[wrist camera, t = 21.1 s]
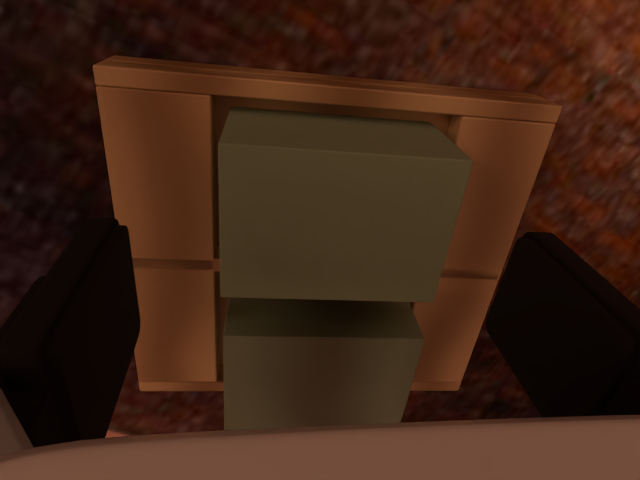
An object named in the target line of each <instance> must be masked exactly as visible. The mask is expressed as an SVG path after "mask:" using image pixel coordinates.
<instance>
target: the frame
mask: <svg viewBox="0 0 640 480" xmlns="http://www.w3.org/2000/svg"><path fill="white" fill-rule="evenodd" d="M93 72H94V79H95V84H96V85H98V86H96V92H97V99H98V106H99V113H100V119H101V126H102V133H103V140H104V147H105V154H106V160H107V167H108V174H109V181H110V188H111V195H112V202H113V208H114V215H115V219H117V220H118V222H119V225H126V226H127V228H128V231H129V238H130V245H131V253H132V260H133V268H134V275H135V283H136V290H137V298H138V305H139V313H140V321H141V323H140V333H139V337H138V340H137V343H136V346H135V349H134V352H135V359H136V366H137V373H138V380H139V387H140V391H224V430H244V429H266V428H289V427H312V426H334V425H357V424H382V423H401V420H402V416H403V413H404V409H405V406H406V402H407V399H408V396H409V392H410V391H457V390H459V387H460V384H461V381H462V378H463V375H464V373H465V370H466V367H467V365H468V362H469V359H470V356H471V354H472V351H473V348H474V345H475V343H476V340H477V337H478V335H479V332H480V329H481V326H482V324H483V321H484V318H485V316H486V313H487V310H488V307H489V305H490V302H491V299H492V297H493V294H494V291H495V288H496V286H497V283H498V280H499V278H500V275H501V273H502V269H503V267H504V264H505V261H506V258H507V256H508V253H509V250H510V248H511V245H512V242H513V239H514V237H515V234H516V231H517V228H518V226H519V223H520V220H521V218H522V215H523V212H524V209H525V207H526V204H527V201H528V199H529V196H530V193H531V190H532V188H533V185H534V182H535V179H536V177H537V174H538V171H539V169H540V166H541V163H542V160H543V158H544V155H545V152H546V150H547V147H548V144H549V141H550V139H551V136H552V133H553V131H554V128H555V124H554V123H556V122H557V120H558V118H559V115H560V112H561V109H562V106H561V105H558V104H556V103H554V102H551V101H549V100H546V99H545V98H542V97H540V96H538V95H535V94H533V93H522V92H512V91H501V90H490V89H479V88H468V87H457V86H446V85H435V84H424V83H413V82H402V81H391V80H380V79H369V78H358V77H347V76H336V75H325V74H314V73H303V72H292V71H281V70H270V69H259V68H248V67H237V66H226V65H215V64H204V63H193V62H182V61H171V60H160V59H149V58H138V57H127V56H116V55H114V56H112V57H109V58H107V59H105V60H103V61H101V62H99V63H97V64H95V65H93ZM232 106H235V107H247V108H260V109H273V110H285V111H298V112H310V113H323V114H336V115H348V116H361V117H373V118H386V119H399V120H411V121H424V122H431V123H432V124H433V125H434V126H435V127H436V128H437V129H438V130H440V131H441V132H442V133H443V134H444V135H445V136H446V137H447V138H448V139H450V140H451V141H452V142H453V143H454V144H455V145H456V146H457V147H458V148H460V149H461V150H462V151H463V152H464V153H465V154H466V155H467V156H468V157H470V158H471V159H472V160H473V165H472V169H471V172H470V176H469V179H468V183H467V186H466V190H465V193H464V197H463V200H462V204H461V207H460V211H459V214H458V218H457V221H456V225H455V228H454V231H453V235H452V238H451V242H450V245H449V249H448V252H447V256H446V259H445V263H444V266H443V270H442V273H441V277H440V280H439V284H438V287H437V291H436V294H435V298H434V301H433V302H392V301H352V300H312V299H271V298H231V297H221V296H220V251H219V183H218V143H219V140H220V137H221V134H222V132H223V129H224V126H225V123H226V120H227V117H228V114H229V111H230V108H231V107H232Z"/></svg>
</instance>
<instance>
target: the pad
mask: <svg viewBox="0 0 640 480" xmlns="http://www.w3.org/2000/svg"><path fill="white" fill-rule="evenodd" d="M472 165H473V160H472V159H471V158H470V157H468V156H467V155H466V154H465V153H464V152H463V151H462V150H461V149H460V148H458V147H457V146H456V145H455V144H454V143H453V142H452V141H451V140H450V139H448V138H447V137H446V136H445V135H444V134H443V133H442V132H441V131H440V130H438V129H437V128H436V127H435V126H434V125H433V124H432V123H431V122H424V121H411V120H399V119H386V118H373V117H361V116H348V115H336V114H323V113H310V112H298V111H285V110H273V109H260V108H247V107H235V106H232V107H231V108H230V111H229V114H228V117H227V120H226V123H225V126H224V129H223V132H222V134H221V137H220V140H219V143H218V183H219V251H220V296H221V297H231V298H271V299H312V300H352V301H392V302H433V301H434V298H435V294H436V291H437V287H438V284H439V280H440V277H441V273H442V270H443V266H444V263H445V259H446V256H447V252H448V249H449V245H450V242H451V238H452V235H453V231H454V228H455V225H456V221H457V218H458V214H459V211H460V207H461V204H462V200H463V197H464V193H465V190H466V186H467V183H468V179H469V176H470V172H471V169H472Z"/></svg>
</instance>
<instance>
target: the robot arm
mask: <svg viewBox="0 0 640 480" xmlns="http://www.w3.org/2000/svg"><path fill="white" fill-rule="evenodd" d="M140 323H141V321H140V313H139V305H138V298H137V290H136V283H135V275H134V268H133V260H132V253H131V245H130V238H129V231H128V228H127V226H126V225H119V222H118V220H117V219H111V218H87V219H86V220H85V222H84V223H83V225H82V226H81V227H80V229H79V230H78V232H77V233H76V235H75V236H74V237H73V239H72V240H71V242H70V243H69V244H68V246H67V247H66V249H65V250H64V251H63V253H62V254H61V256H60V257H59V259H58V260H57V261H56V263H55V264H54V266H53V267H52V268H51V270H50V271H49V273H48V274H47V275H46V276H42V277H39V278H38V279H37V280H36V281H35V282H34V284H33V285H32V286H31V288H30V289H29V290H28V292H27V293H26V295H25V296H24V297H23V299H22V300H21V301H20V303H19V304H18V306H17V307H16V308H15V310H14V311H13V312H12V314H11V315H10V316H9V318H8V319H7V321H6V322H5V323H4V325H3V326H2V327H1V329H0V480H640V309H639V308H638V307H636V306H635V305H634V304H633V303H632V302H631V301H630V300H628V299H627V298H626V297H625V296H624V295H623V294H622V293H620V292H619V291H618V290H617V289H616V288H615V287H614V286H612V285H611V284H610V283H609V282H608V281H607V280H605V279H604V278H603V277H602V276H601V275H600V274H599V273H597V272H596V271H595V270H594V269H593V268H592V267H591V266H589V265H588V264H587V263H586V262H585V261H584V260H583V259H581V258H580V257H579V256H578V255H577V254H576V253H575V252H573V251H572V250H571V249H570V248H569V247H568V246H567V245H565V244H564V243H563V242H562V241H561V240H560V239H559V238H557V237H556V236H555V235H554V234H552V233H544V232H527V233H525V234H524V235H523V236H522V237H521V238H519V239H518V240H517V241H516V243H515V245H514V248H513V251H512V253H511V256H510V259H509V261H508V264H507V267H506V269H505V272H504V275H503V277H502V280H501V283H500V285H499V288H498V290H497V293H496V296H495V298H494V301H493V304H492V306H491V309H490V312H489V314H488V317H487V320H486V328H487V332H488V334H489V335H490V337H491V338H492V340H493V342H494V343H495V345H496V346H497V348H498V349H499V351H500V352H501V354H502V356H503V357H504V359H505V360H506V362H507V363H508V365H509V366H510V368H511V370H512V371H513V373H514V374H515V376H516V377H517V379H518V380H519V382H520V384H521V385H522V387H523V388H524V390H525V391H526V393H527V394H528V396H529V398H530V399H531V401H532V402H533V404H534V405H535V407H536V408H537V410H538V412H539V413H540V415H541V416H542V418H513V419H486V420H459V421H433V422H407V423H382V424H357V425H334V426H312V427H289V428H266V429H244V430H221V431H204V432H186V433H169V434H153V435H137V436H123V437H112V438H105V436H106V433H107V430H108V427H109V424H110V421H111V418H112V415H113V412H114V409H115V406H116V403H117V400H118V397H119V394H120V391H121V388H122V385H123V382H124V379H125V376H126V373H127V370H128V367H129V364H130V361H131V358H132V355H133V352H134V349H135V346H136V343H137V340H138V337H139V333H140Z"/></svg>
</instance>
